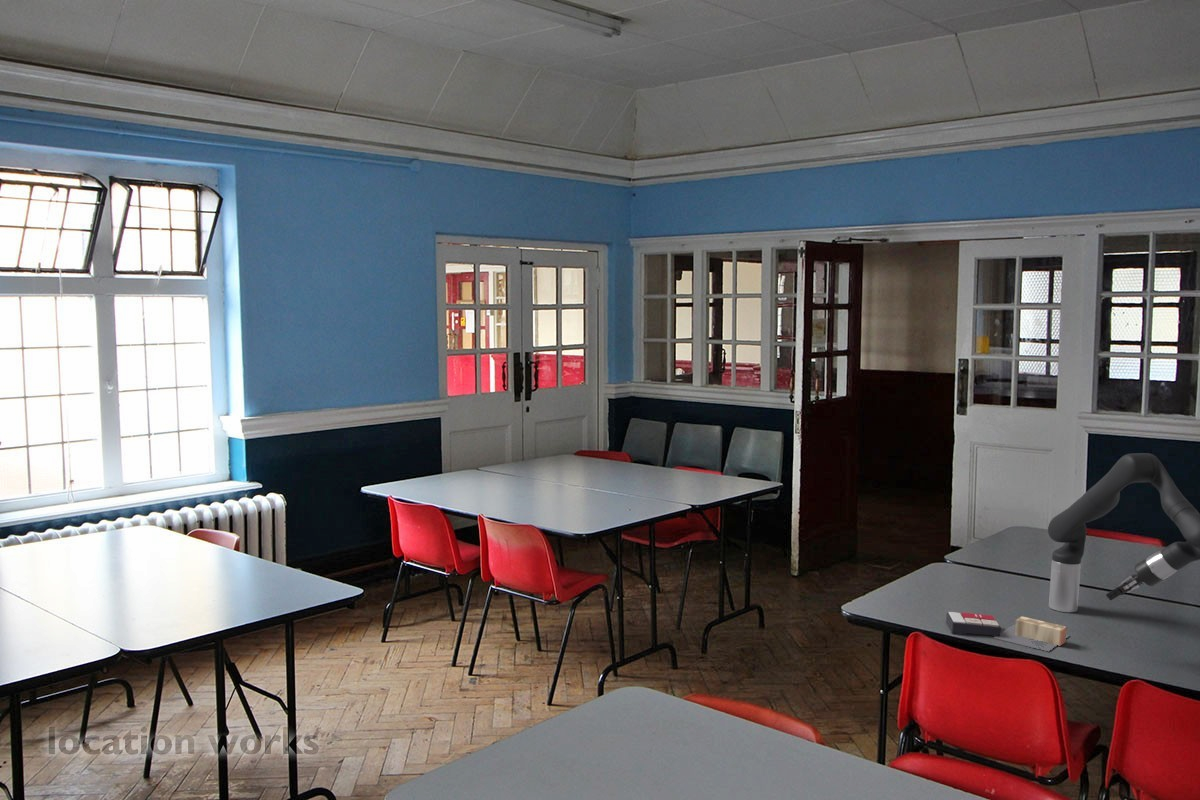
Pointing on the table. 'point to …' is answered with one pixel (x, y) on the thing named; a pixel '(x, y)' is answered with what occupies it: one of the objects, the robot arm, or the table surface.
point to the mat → (1022, 639)
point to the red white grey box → (972, 624)
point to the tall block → (1040, 631)
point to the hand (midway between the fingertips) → (1108, 597)
